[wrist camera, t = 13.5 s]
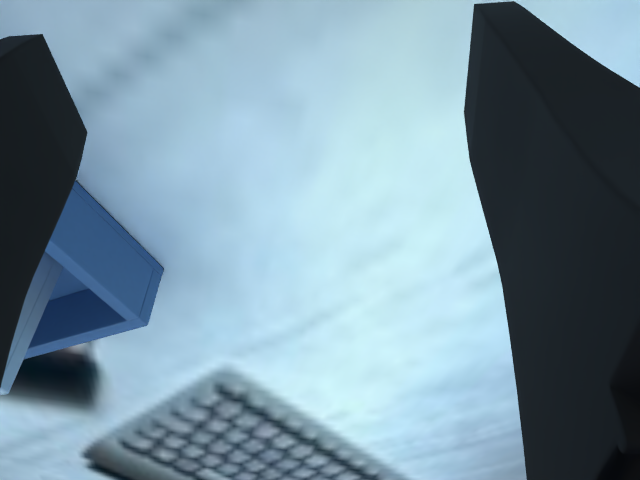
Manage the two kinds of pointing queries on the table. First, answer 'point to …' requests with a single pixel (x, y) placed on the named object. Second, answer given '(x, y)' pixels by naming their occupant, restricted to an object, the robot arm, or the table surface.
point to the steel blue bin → (94, 279)
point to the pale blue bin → (30, 316)
